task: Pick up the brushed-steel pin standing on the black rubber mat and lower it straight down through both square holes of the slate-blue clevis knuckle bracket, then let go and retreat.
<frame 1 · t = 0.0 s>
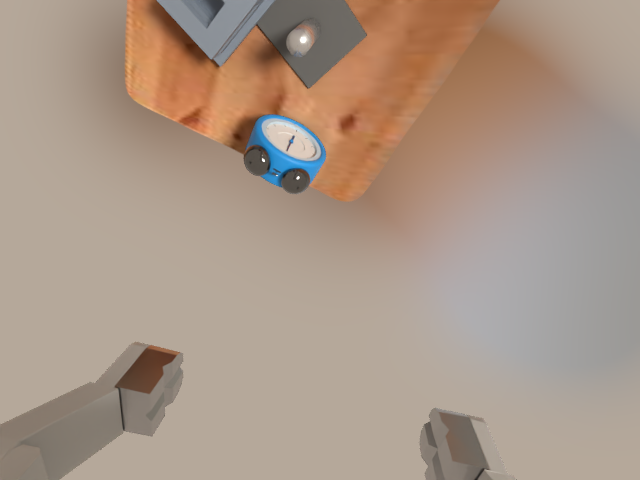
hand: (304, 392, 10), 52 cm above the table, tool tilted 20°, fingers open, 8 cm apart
rubber mat: (311, 29, 48), on the table
alarm clock: (294, 135, 60), on the table
steel pin: (311, 29, 47), resting on rubber mat
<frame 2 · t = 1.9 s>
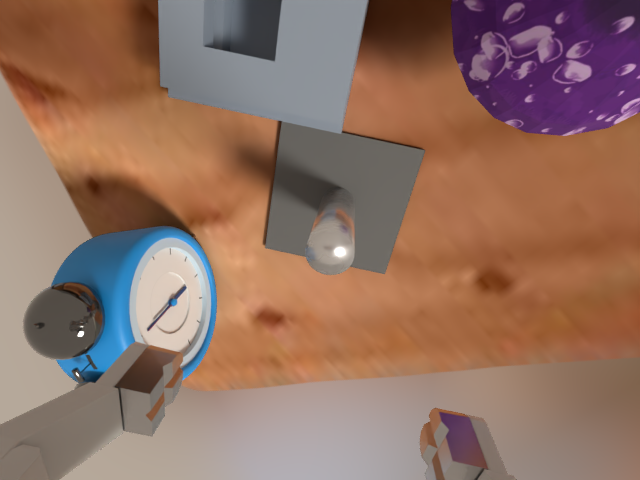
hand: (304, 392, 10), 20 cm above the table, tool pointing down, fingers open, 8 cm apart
rubber mat: (338, 202, 28), on the table
alarm clock: (187, 266, 33), on the table
clevis bracket: (268, 30, 23), on the table
decorative mushroom: (506, 30, 22), on the table
steel pin: (337, 203, 28), resting on rubber mat
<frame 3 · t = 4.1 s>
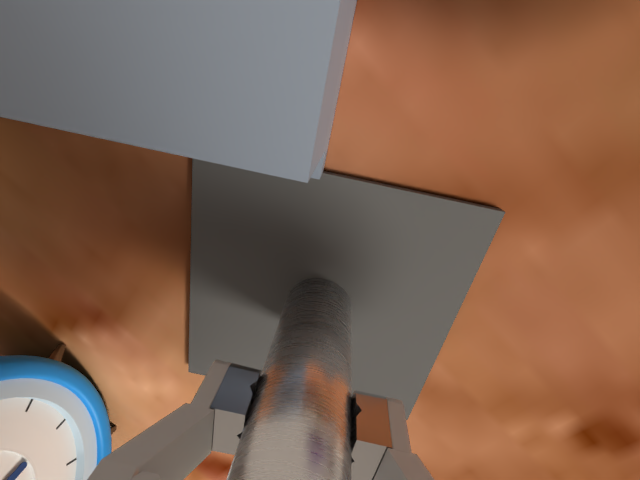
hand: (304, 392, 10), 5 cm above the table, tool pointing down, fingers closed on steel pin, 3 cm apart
rubber mat: (319, 301, 15), on the table
alarm clock: (63, 387, 19), on the table
steel pin: (318, 306, 14), resting on rubber mat, touching gripper
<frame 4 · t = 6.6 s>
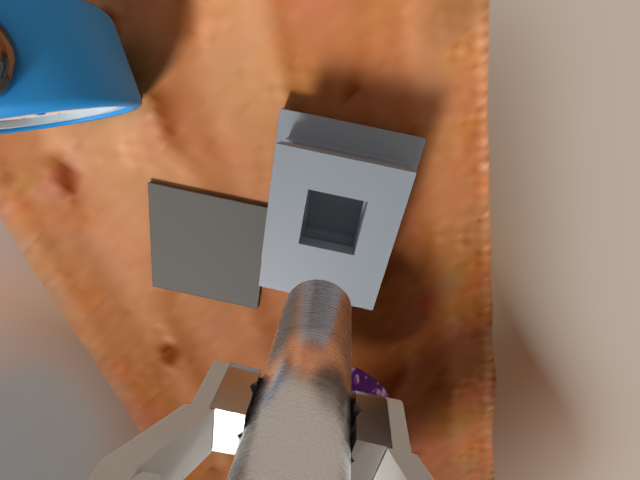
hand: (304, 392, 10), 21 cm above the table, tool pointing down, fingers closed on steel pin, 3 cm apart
rubber mat: (208, 248, 33), on the table
alarm clock: (97, 79, 27), on the table
clevis bracket: (335, 200, 29), on the table
decorative mushroom: (331, 342, 36), on the table
steel pin: (318, 307, 14), point 17 cm above the table, touching gripper
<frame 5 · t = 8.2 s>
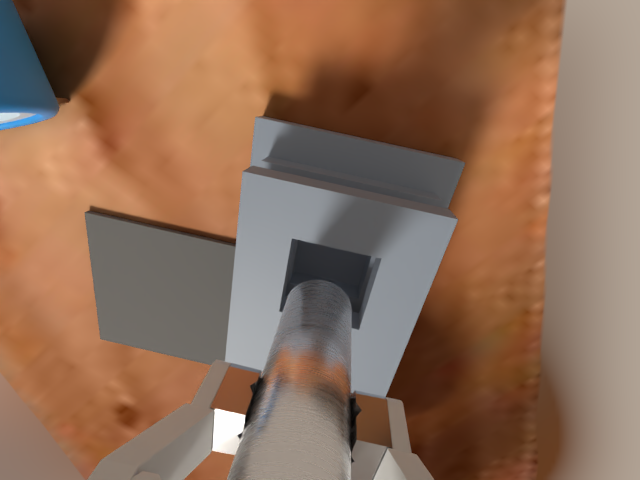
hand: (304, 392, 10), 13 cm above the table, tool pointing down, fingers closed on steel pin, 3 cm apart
rubber mat: (168, 295, 25), on the table
alarm clock: (9, 74, 20), on the table
clevis bracket: (334, 240, 22), on the table
steel pin: (318, 307, 14), point 8 cm above the table, touching gripper
when the fingers open (7 cm above the table, at t = 9.5 s): steel pin stays where it is, resting on clevis bracket.
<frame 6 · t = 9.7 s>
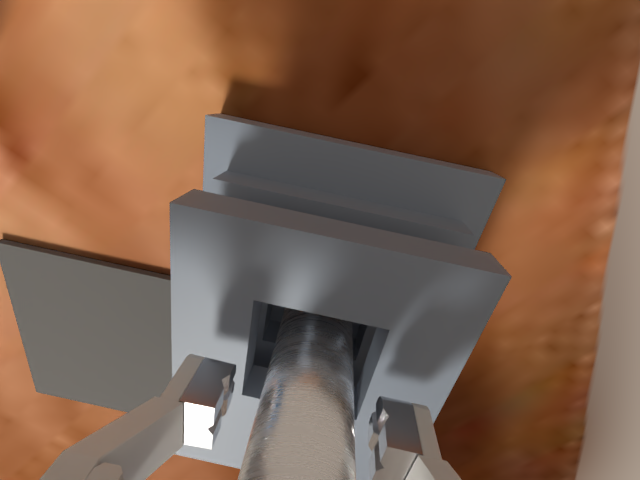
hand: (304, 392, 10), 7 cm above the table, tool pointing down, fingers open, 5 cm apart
rubber mat: (115, 342, 20), on the table
clevis bracket: (323, 277, 16), on the table
steel pin: (320, 296, 15), point 2 cm above the table, touching clevis bracket
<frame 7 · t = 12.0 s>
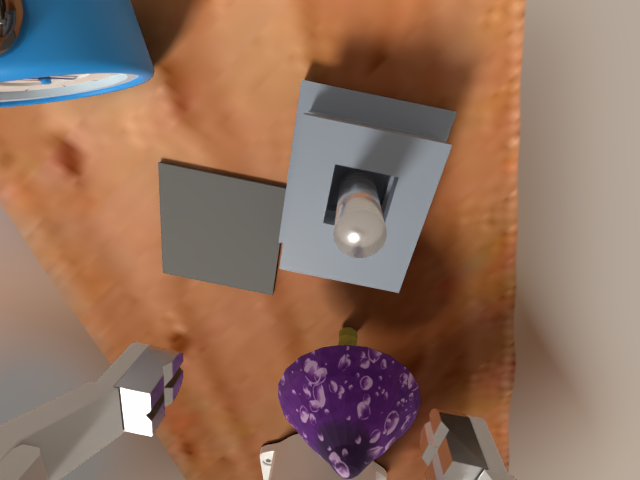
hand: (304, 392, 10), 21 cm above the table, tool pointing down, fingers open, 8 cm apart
rubber mat: (221, 232, 31), on the table
alarm clock: (103, 50, 25), on the table
clevis bracket: (357, 180, 28), on the table
decorative mushroom: (347, 328, 36), on the table
steel pin: (357, 186, 27), point 2 cm above the table, touching clevis bracket
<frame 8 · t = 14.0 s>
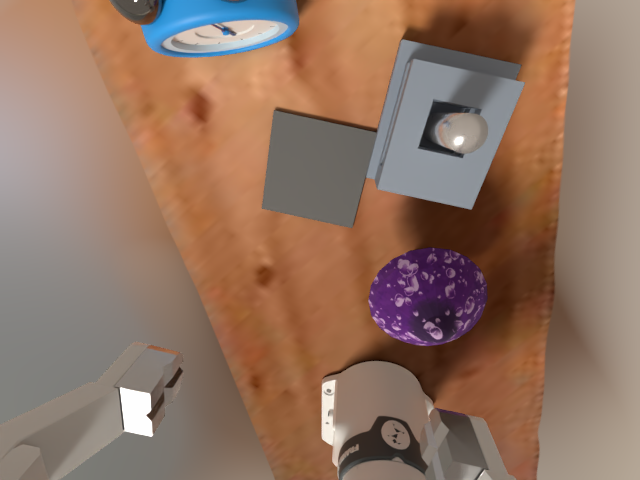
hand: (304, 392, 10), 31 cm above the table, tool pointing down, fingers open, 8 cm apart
rubber mat: (315, 172, 38), on the table
alarm clock: (243, 18, 33), on the table
clevis bracket: (433, 125, 35), on the table
decorative mushroom: (412, 260, 42), on the table
steel pin: (436, 127, 34), point 2 cm above the table, touching clevis bracket
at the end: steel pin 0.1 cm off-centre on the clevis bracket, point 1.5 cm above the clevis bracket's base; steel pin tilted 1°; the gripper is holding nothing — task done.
